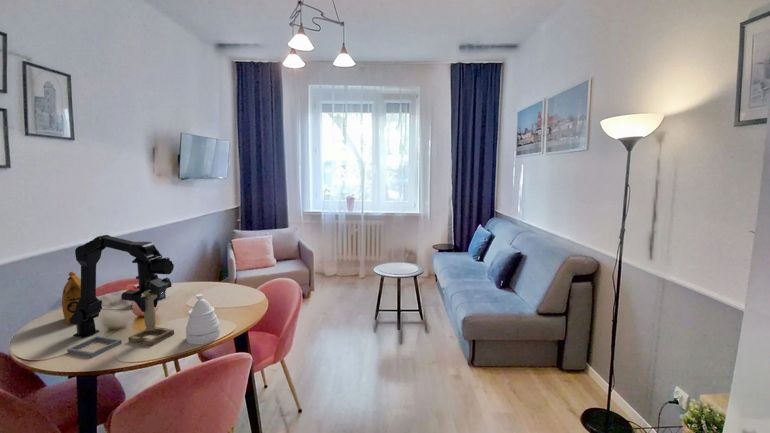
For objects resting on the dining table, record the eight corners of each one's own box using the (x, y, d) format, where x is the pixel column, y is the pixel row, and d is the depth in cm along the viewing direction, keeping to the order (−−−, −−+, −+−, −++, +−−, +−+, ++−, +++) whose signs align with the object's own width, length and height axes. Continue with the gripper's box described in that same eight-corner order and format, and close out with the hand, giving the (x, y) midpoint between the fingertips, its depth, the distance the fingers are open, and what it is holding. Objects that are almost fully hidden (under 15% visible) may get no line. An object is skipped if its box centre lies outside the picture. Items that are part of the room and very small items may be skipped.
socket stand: (128, 342, 149) (128, 337, 149) (152, 330, 160) (151, 326, 160) (151, 346, 146) (151, 341, 146) (174, 334, 157) (173, 329, 156)
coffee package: (61, 326, 163) (55, 279, 160) (65, 317, 173) (59, 272, 170) (89, 321, 169) (84, 275, 166) (91, 312, 179) (87, 269, 176)
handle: (158, 331, 151) (155, 296, 149) (140, 333, 149) (137, 298, 147) (160, 326, 156) (158, 292, 154) (143, 328, 154) (140, 294, 152)
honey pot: (182, 337, 154) (179, 296, 152) (213, 327, 163) (210, 289, 161) (193, 347, 145) (190, 304, 143) (225, 336, 155) (223, 296, 152)
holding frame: (67, 352, 140) (67, 349, 140) (98, 339, 152) (97, 335, 151) (92, 357, 137) (91, 353, 137) (121, 343, 148) (121, 339, 148)
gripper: (141, 281, 138) (144, 320, 140) (180, 268, 156) (183, 303, 158) (118, 279, 141) (122, 317, 143) (159, 266, 159) (162, 300, 161)
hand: (149, 309), depth 151 cm, fingers closed on handle, 5 cm apart
